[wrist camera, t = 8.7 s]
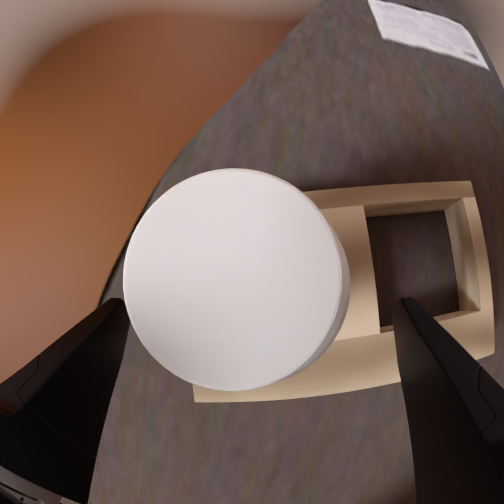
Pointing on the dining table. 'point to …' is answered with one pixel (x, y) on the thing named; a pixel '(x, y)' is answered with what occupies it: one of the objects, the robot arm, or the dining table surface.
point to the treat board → (365, 297)
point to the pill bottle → (235, 280)
